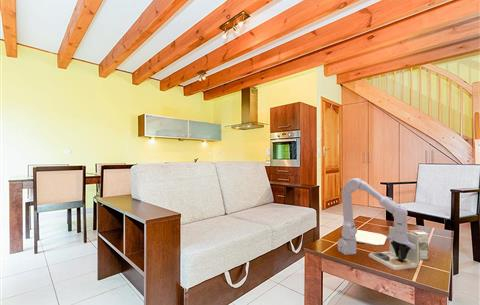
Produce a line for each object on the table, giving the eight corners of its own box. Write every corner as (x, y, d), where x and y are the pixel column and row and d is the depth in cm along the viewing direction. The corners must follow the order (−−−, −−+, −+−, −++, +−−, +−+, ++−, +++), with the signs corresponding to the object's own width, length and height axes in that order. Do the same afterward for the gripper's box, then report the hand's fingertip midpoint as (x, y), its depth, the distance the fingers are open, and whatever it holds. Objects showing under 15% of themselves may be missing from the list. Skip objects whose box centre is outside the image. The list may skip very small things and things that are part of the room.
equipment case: (394, 272, 111) (394, 238, 111) (368, 258, 126) (368, 228, 127) (419, 268, 114) (418, 235, 115) (391, 255, 130) (390, 226, 130)
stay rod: (401, 264, 115) (400, 250, 115) (397, 262, 117) (396, 248, 118) (405, 263, 116) (404, 249, 116) (400, 261, 118) (400, 248, 118)
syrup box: (420, 255, 130) (419, 229, 130) (429, 260, 124) (428, 233, 124) (410, 255, 130) (409, 230, 130) (418, 260, 124) (418, 233, 124)
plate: (383, 249, 139) (383, 245, 139) (340, 240, 155) (340, 237, 155) (387, 238, 159) (387, 234, 159) (349, 231, 174) (349, 228, 174)
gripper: (420, 235, 111) (421, 263, 110) (394, 226, 125) (394, 251, 125) (409, 236, 109) (409, 264, 109) (383, 227, 123) (384, 252, 123)
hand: (400, 257), depth 117 cm, fingers closed on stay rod, 2 cm apart
